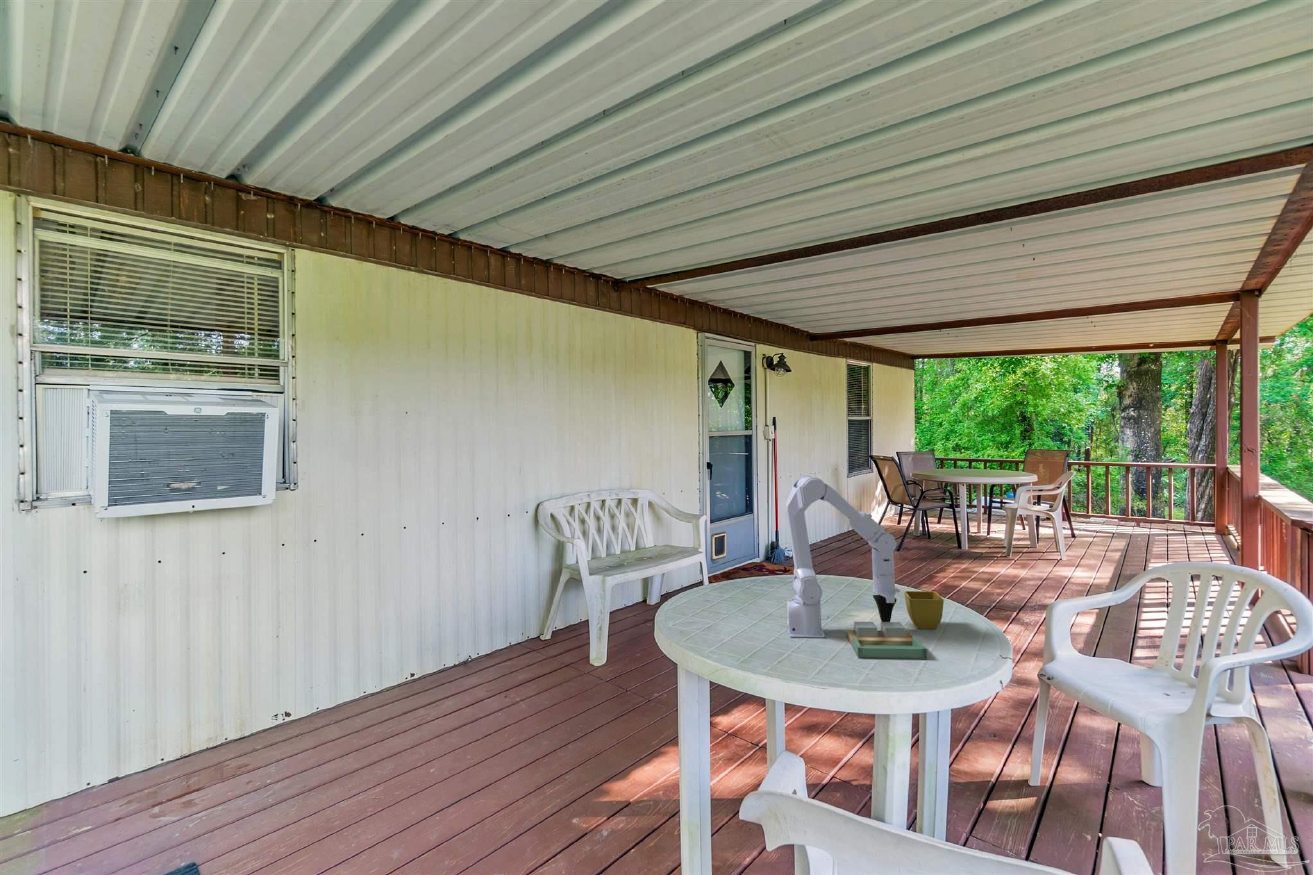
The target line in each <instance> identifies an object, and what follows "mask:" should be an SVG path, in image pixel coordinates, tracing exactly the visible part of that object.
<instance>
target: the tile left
mask: <svg viewBox="0 0 1313 875" xmlns="http://www.w3.org/2000/svg"><path fill="white" fill-rule="evenodd" d="M853 630H854V631H855V633H856V635H857V636H858V637H878V636H877V631H878V626H876V624H875V623H874V621H853Z"/></svg>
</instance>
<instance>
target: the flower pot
mask: <svg viewBox="0 0 1313 875" xmlns="http://www.w3.org/2000/svg"><path fill="white" fill-rule="evenodd" d="M903 593H904V594H903V595H904V600H905V607H906V610H907V613H908V616H909V619H910V620H911V622H912V623H913V625H914V626H915V627H916V629H927V630H928V629H929V630H931V629H932V630H936V629H937V628H938V627H939V625H940V624H941V621H942V618H943V610H944V600H945V599H944V598H943V597H942V596H941V595H939V593H938V592H937V591H931V590H930V591H929V590H927V591H926V590H923V591H922V590H921V591H920V590H904V591H903Z"/></svg>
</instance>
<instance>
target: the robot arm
mask: <svg viewBox="0 0 1313 875" xmlns="http://www.w3.org/2000/svg"><path fill="white" fill-rule="evenodd" d="M817 501H824V502H827V503H829V504H830V505H831V506H832V507H834V508H835V509H836V510H837V511H839V512H840V513H841V514H842V515H843V516H844V517H846V518H847V520H849V522H848V523H849V527H850V528H852V530H853V531H855V532H856V533H857V534H858V535H859V536H860V537H862V539H864V541H866V542H867V543H868V545H869V546H870V547H871V565H872V566H871V567H872V592H873V593H874V594H873V595H872V598H873V599H874V601H875V602H874V603H875V604H876V606H877V610H878V615H879V619H880V622H891V621H892V620H891V619H892V614H893V610H894V607H895V605H896V603H897V598H896V596H895V595H896V593H900V592H901V591H900V588H897V587H896V583H895V582H896V581H895V580H896V579H895V560H894V559H895V558H894V551H895V549H896V548H897V545H898V542H897V541H896V539H895V536H894V535H893V534H891V532H888V531H885V526H884V525H882V524H879V523H877V521H875V520H874V519H873V518H872V517H873V515H872V514H871V513H870V512H865V511H862V510H861V511H857V509H856V508H854V506H852V505H851V504H850V503H849V502H848V501H847V500H846V499H845V498H844V497H843V496H842V495H840V493H838V492H837V491H836V490H835V489H834V488H833V487H832V486H830V485H829V484H827V483H826V482H824V481H823V480H822V479H821V478H819V477H816V476H814V477H812V476H810V475H803V476H800V477H799V478H798V479H796V480H795V482H794V483H793V484H792V487H791V491H790V493H789V496H788V497H787V500H786V503H785V505H784V506H785V514H786V515H785V516H786V521H787V527H788V533H789V540H790V545H791V546H790V547H791V551H792V553H791V554H792V559H793V565H794V569H793V580H792V584H791V586H792V590H793V593H795V595H794V598H793V600H791V601H787V602H786V615H787V616H786V617H787V621H786V628H787V631H788V636H789V637H790V638H825V637H826V635H825V632H824V630H823V628H822V607H821V605H822V604H821V599H822V596H823V590H822V587H821V585H820V584H819V583H818V580H817V579H818V578H817V575H816V572H815V570H814V566H813V561H812V560H813V559H812V554H811V548H810V542H809V534H808V528H807V527H808V526H807V523H806V521H807V520H806V515H805V512H806V511H807V510H808V508H809V507H810V506H811V505H812V504H813V503H815V502H817Z"/></svg>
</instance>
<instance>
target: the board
mask: <svg viewBox="0 0 1313 875" xmlns="http://www.w3.org/2000/svg"><path fill="white" fill-rule="evenodd" d="M877 636H878V637H858V636H857V635H856V633H855V631H854V629H853V630H852V629H851V630H849V629H846V638H847V639H848V641H849V643H850V646H852V637H856V638H857V640H858V642H859V643H860V645H910V646H912V637H913V635H911V633H910V631H908V630H905V638H901V637H885V636H884V635H883V633H882V632H881V630H877Z"/></svg>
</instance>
